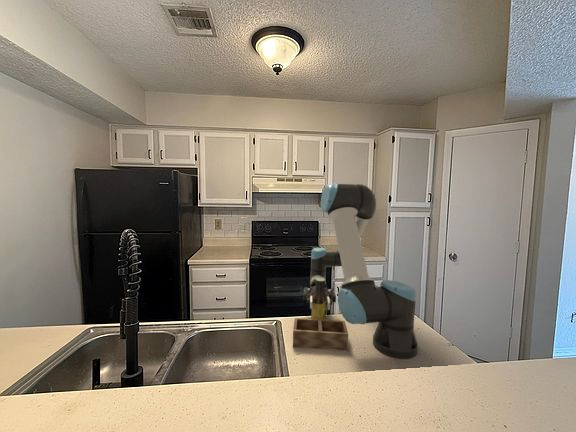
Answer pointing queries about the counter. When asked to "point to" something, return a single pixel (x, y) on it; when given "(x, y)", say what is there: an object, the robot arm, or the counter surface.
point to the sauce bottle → (319, 300)
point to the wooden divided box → (320, 334)
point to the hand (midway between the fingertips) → (320, 305)
